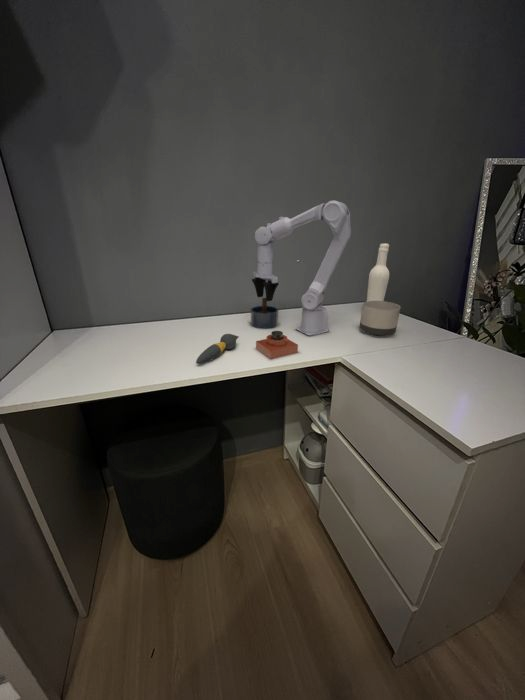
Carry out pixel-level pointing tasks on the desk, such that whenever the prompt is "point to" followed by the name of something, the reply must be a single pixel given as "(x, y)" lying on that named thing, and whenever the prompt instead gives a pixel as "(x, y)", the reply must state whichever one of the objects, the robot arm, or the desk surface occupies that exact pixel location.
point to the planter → (379, 318)
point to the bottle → (379, 276)
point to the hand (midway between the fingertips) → (264, 298)
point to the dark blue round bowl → (264, 317)
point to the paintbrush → (217, 348)
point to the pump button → (276, 335)
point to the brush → (264, 306)
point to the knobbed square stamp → (276, 347)
